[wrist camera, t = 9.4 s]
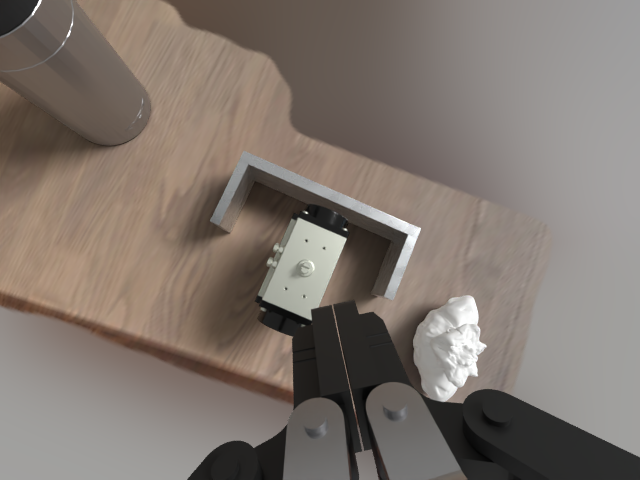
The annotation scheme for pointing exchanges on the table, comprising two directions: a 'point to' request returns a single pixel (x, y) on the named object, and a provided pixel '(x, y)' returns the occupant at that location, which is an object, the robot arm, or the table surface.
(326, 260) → the pneumatic valve
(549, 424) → the robot arm
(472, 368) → the bust
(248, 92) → the table surface
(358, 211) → the cradle
